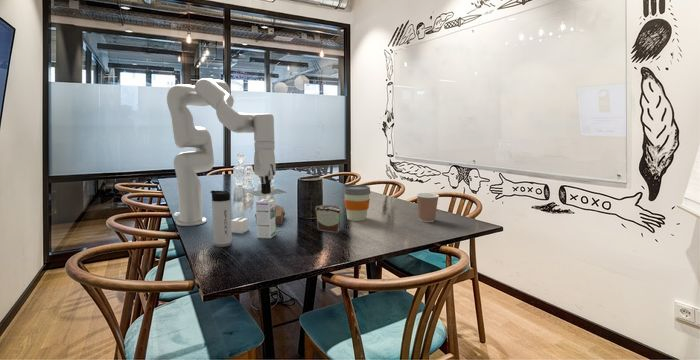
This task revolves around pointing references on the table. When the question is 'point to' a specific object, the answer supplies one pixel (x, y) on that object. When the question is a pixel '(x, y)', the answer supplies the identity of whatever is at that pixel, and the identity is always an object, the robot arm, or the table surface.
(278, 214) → the wooden toy blocks
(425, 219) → the coffee cup
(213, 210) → the travel mug
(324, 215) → the food container
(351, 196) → the reusable coffee cup
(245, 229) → the white block
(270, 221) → the syrup box
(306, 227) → the table surface
